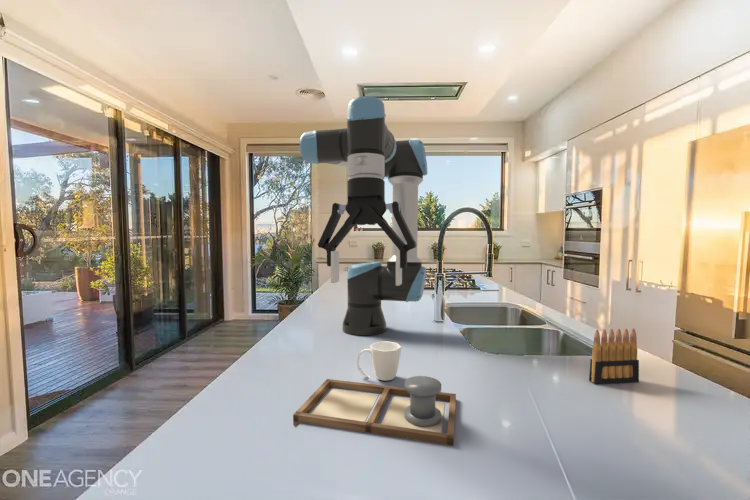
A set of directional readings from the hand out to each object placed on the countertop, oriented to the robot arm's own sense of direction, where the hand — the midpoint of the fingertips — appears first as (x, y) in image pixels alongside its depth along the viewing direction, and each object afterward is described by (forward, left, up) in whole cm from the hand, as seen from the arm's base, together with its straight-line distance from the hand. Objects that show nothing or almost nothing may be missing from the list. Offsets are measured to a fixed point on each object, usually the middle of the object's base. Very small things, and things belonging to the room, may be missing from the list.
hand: (366, 283), depth 69 cm
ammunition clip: (-20, +52, -23) cm, 60 cm away
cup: (-7, +1, -23) cm, 24 cm away
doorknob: (+7, +13, -22) cm, 27 cm away
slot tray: (+7, +5, -23) cm, 24 cm away
